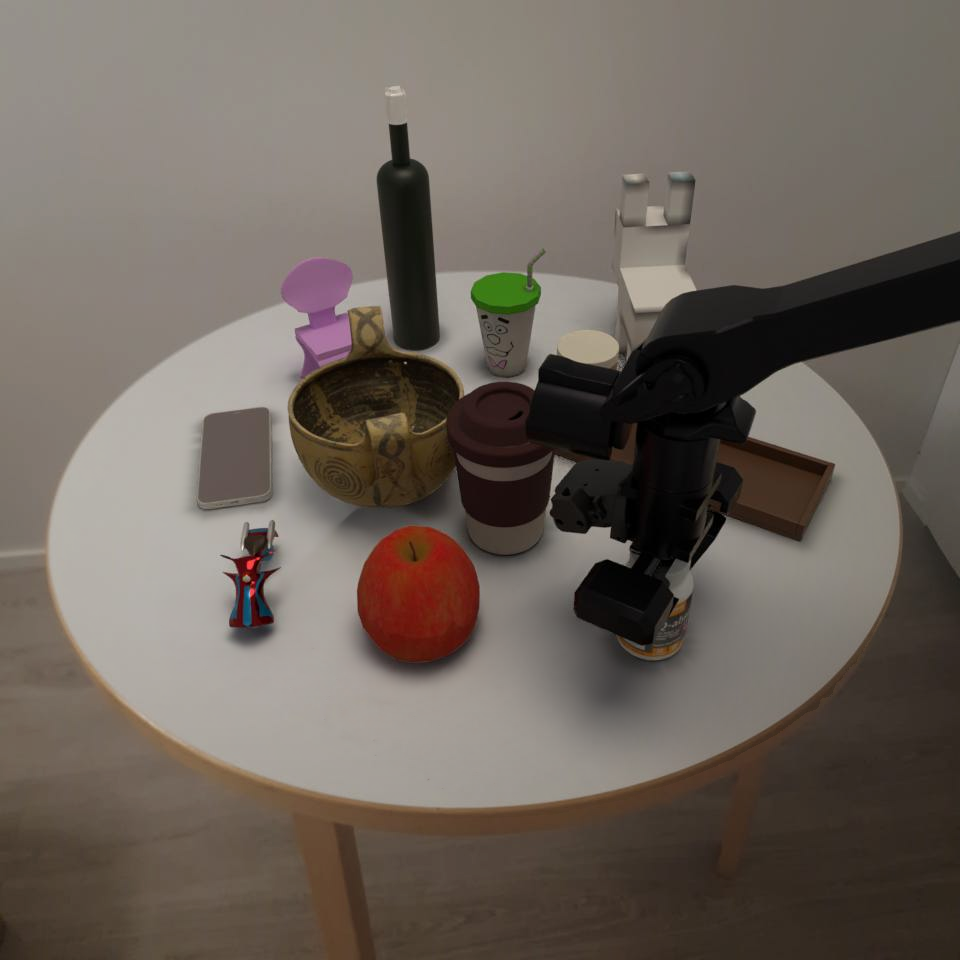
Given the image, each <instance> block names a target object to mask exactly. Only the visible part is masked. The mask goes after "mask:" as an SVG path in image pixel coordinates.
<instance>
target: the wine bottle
mask: <svg viewBox="0 0 960 960" xmlns="http://www.w3.org/2000/svg"><path fill="white" fill-rule="evenodd" d="M384 100H385V110H386V120H387V121H386V122H387V124H388V132H389V133H388V134H389V142H390V154H391V159H390V160H388V161H386V162H385V163H383V164H382V165H381V166H380V167H379V168H378V171H377V173H376V190H377V199H378V207H379V217H380V226H381V236H382V243H383V253H384V263H385V271H386V273H385V274H386V280H387V290H388V291H387V292H388V301H389V308H390V318H391V328H392V335H393V336H392V337H393V341H394V343H395V345H396V346H398V347H399V348H401V349H404V350H407V351H408V350H409V351H421V350H422V351H423V350H426V349H429V348H432V347H433V346H435V345H436V344H437V343H438V342H439V340H440V338H441V331H440V318H439V317H440V316H439V303H438V302H439V301H438V288H437V274H436V260H435V245H434V229H433V228H434V227H433V217H432V216H433V214H432V202H431V185H430V175H429V172H428V169H427V168H426V167H425V165H424V164H423V163H422V162H420V161H419V160H416V159H415V158H411V152H410V140H409V128H408V122H409V119H408V106H407V105H408V104H407V93H406V90H405V88H402V87H401V86H400V84H399V85H392V86H389V87H388V86H385V92H384Z"/></svg>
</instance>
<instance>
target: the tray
mask: <svg viewBox="0 0 960 960" xmlns="http://www.w3.org/2000/svg"><path fill="white" fill-rule="evenodd" d="M636 429H637V423H634V424H633V425H632V429H631V433H630V436H629V439H628V441H627V444H626V446H625V448H624V449H623V450H619V449H615V448H614V447H612V448H613V449H612V454H611V457H610V460H611V461H624V462H626V463H628V464H633V458H634V448H635V438H636ZM554 451H555V455H557V456H560V457H562V458H565V459H567V460H571V461H574V462H575V463H578V462H580V461H583V460H601V459H596V458H592V457H588V456H584V455H580V454H575V453H571V452H567V451H563V450H559V449H555V448H554ZM716 462H719V463H722V464H725V465H728V466H731V467H734V468H735V469H736V471H737V472H738V473H739V475H740V476H741V477H742V479H743V484H742V489H741V494H740V497H739V499H738V501H737V502H736V504H735V506H734V507H733V509H732V511H731V512H730V514H729V515H727V514H724V513H721V512H720V508H721V502H718V501H715V500H712V499H710V500H709V504H710V510H712V511H715V512H717V513H720V514H722V515H724V516H725V515H726V516H728V517H731V518H734V519H736V520H739V521H742V522H745V523H747V524H751V525H754V526H756V527H760V528H762V529H765V530H766V531H767V530H768V531H770V532H772V533H773V532H774V533H776V534H779V535H782V536H784V537H787V538H790V539H792V540H795V541H799V542H801V541H802V539H803V537H804V536H805V535H804V534H805V533H806V531H807V528H808V527H809V525H810V522H811V521H812V519H813V517H814V514H815V513H816V511H817V509H818V507H819V505H820V503H821V500H822V499H823V497H824V495H825V492H826V490H827V488H828V486H829V484H830V483H831V480H832V478H833V474H834V471H835V467H836V463H834V462H831V461H828V460H824V459H821V458H818V457H815V456H811V455H809V454H804V453H802V452H799V451H795V450H792V449H789V448H786V447H782V446H780V445H777V444H773V443H771V442H768V441H765V440H761V439H757V438H754V437H751V436H748V439H747V441H746V443H744V444H737V443H733V442H728V441H724V440H720V445H719V450H718V456H717V461H716Z"/></svg>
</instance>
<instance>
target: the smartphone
mask: <svg viewBox="0 0 960 960" xmlns="http://www.w3.org/2000/svg"><path fill="white" fill-rule="evenodd" d="M201 427H202V429H201V439H200V451H199V465H198V477H197V489H196V490H197V491H196V500H197V503H198V506H199V507H200V508H201V509H203V510H213V509H221V508H228V507H234V506H240V505H249V504H256V503H261V502H265V501H267V500H269V499H270V498H272V495H273V437H272V436H273V434H272V432H273V431H272V429H273V427H272V413H271V410H270V409H269V408H268V407H265V406H256V407H250V408H249V407H247V408H242V409H234V410H226V411H219V412H217V411H216V412H212V413H209V414H206V415H205V416H204V417H203V419H202V426H201Z"/></svg>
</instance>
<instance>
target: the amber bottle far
mask: <svg viewBox="0 0 960 960" xmlns="http://www.w3.org/2000/svg"><path fill="white" fill-rule="evenodd" d="M556 355H558V356H563V357H566V358H569V359H571V360H573V361H576V362H581V363H585V364H590V365H595V366H600V367H605V368H610V369H615V370H617V368H618V367H617V366H618V361H619V355H620V354H619V344H618V342H617V341H616V340H615V337H613V336H612V335H610V334H608V333H606V332H604V331H599V330H593V329H579V330H574V331H571V332H568V333H566V334H564V335H563V336H561V338H560V339H558V341H557V344H556Z"/></svg>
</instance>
